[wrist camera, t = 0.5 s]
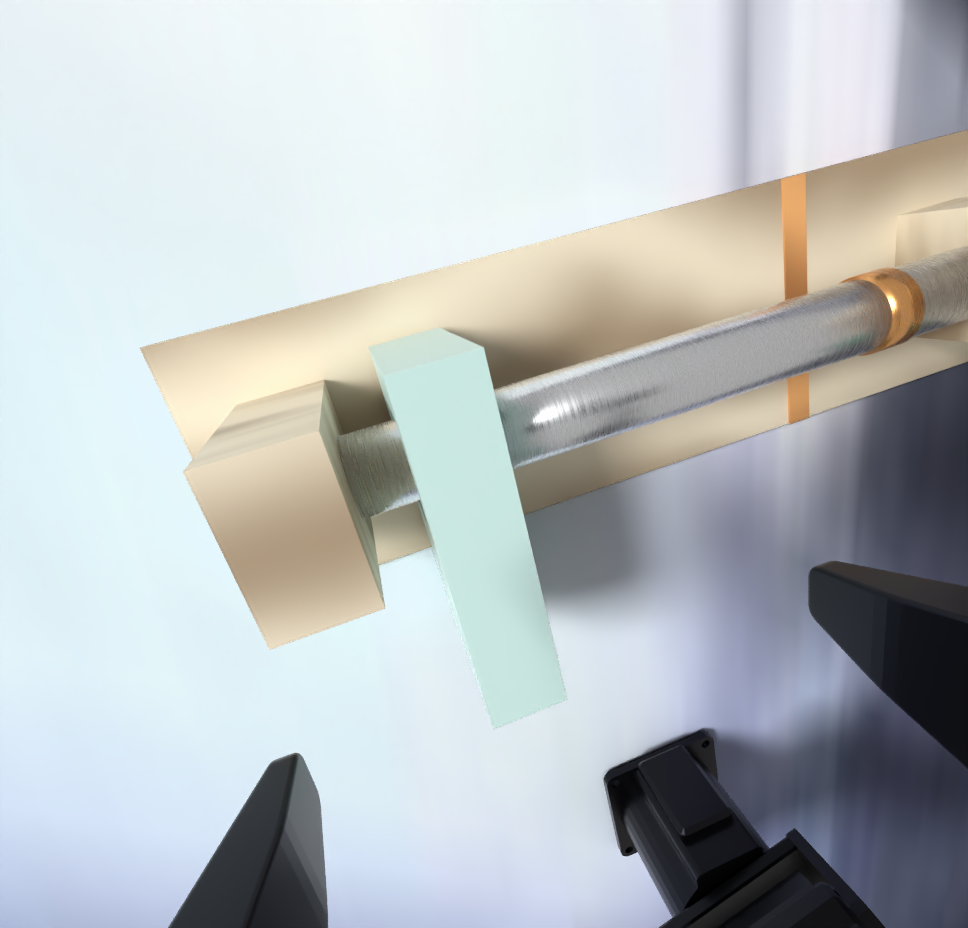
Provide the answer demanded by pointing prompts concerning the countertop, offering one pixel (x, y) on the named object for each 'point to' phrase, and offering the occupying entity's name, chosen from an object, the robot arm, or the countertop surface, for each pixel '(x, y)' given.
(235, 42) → the countertop surface
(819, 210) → the beige cradle stand
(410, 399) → the collar
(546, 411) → the pipe
